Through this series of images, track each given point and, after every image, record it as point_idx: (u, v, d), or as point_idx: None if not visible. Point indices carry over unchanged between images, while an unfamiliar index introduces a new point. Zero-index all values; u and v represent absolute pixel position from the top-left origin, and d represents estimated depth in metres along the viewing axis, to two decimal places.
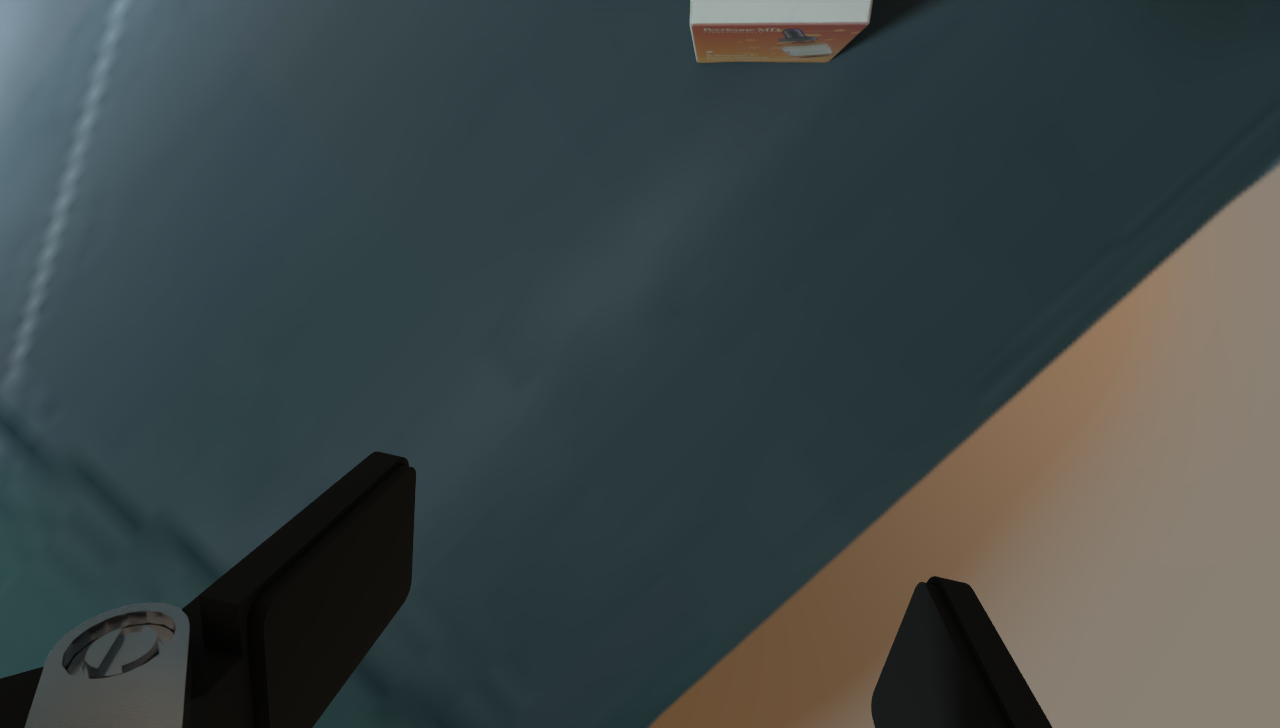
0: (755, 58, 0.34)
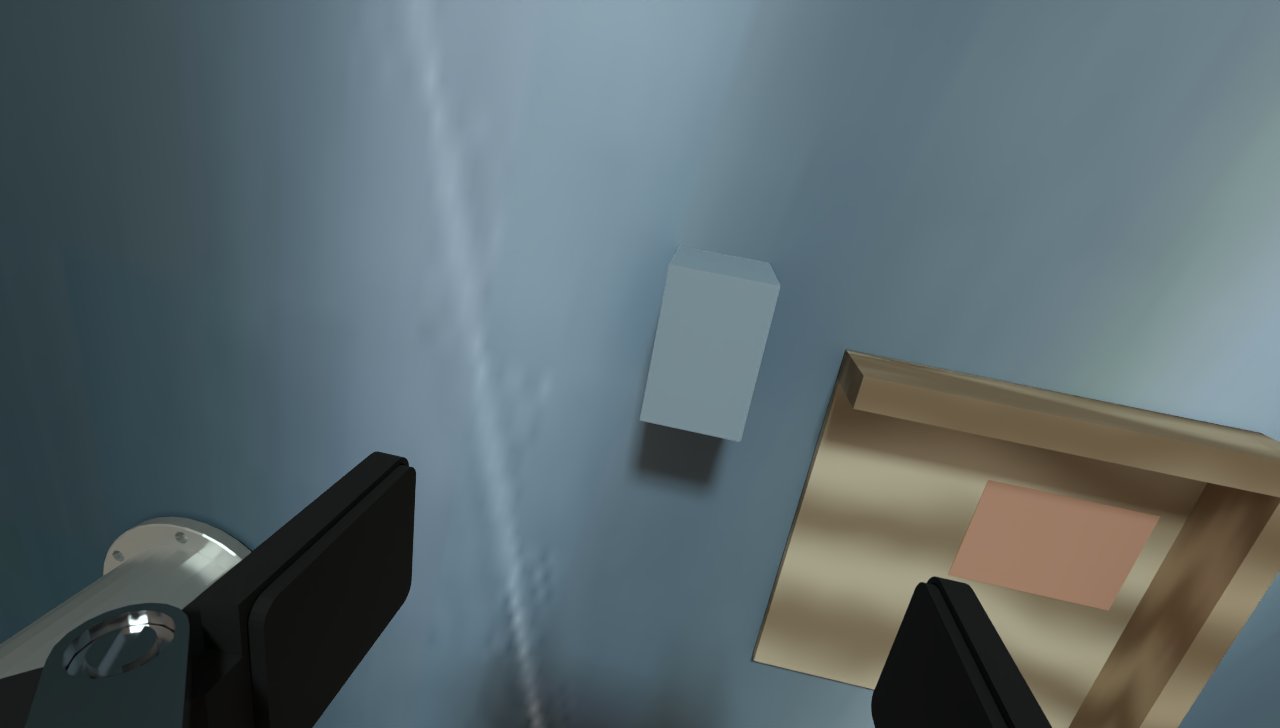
0: None
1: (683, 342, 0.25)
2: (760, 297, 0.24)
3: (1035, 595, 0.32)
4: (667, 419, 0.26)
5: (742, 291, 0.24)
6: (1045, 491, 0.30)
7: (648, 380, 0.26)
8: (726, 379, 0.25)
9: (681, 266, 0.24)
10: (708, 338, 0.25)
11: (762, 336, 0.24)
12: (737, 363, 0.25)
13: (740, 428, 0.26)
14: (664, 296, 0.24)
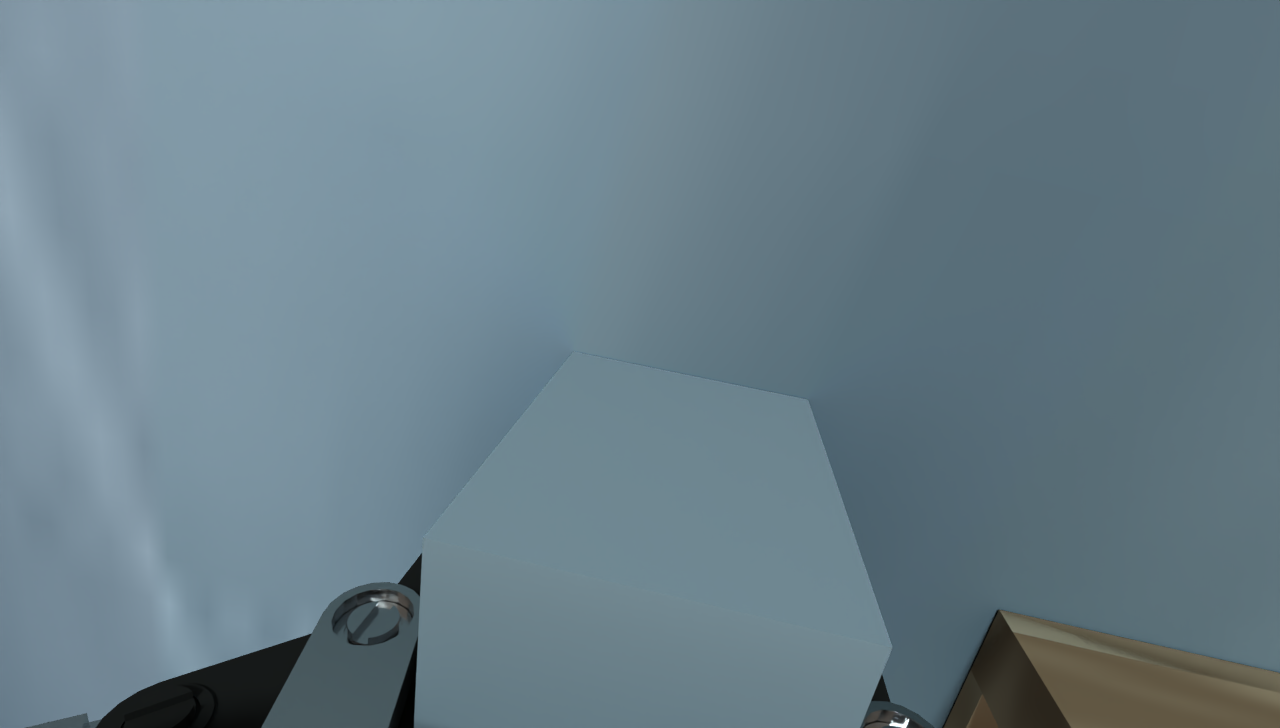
0: None
1: None
2: (803, 679, 0.06)
3: None
4: None
5: (724, 652, 0.06)
6: None
7: None
8: None
9: (475, 543, 0.06)
10: None
11: None
12: None
13: None
14: (423, 643, 0.06)
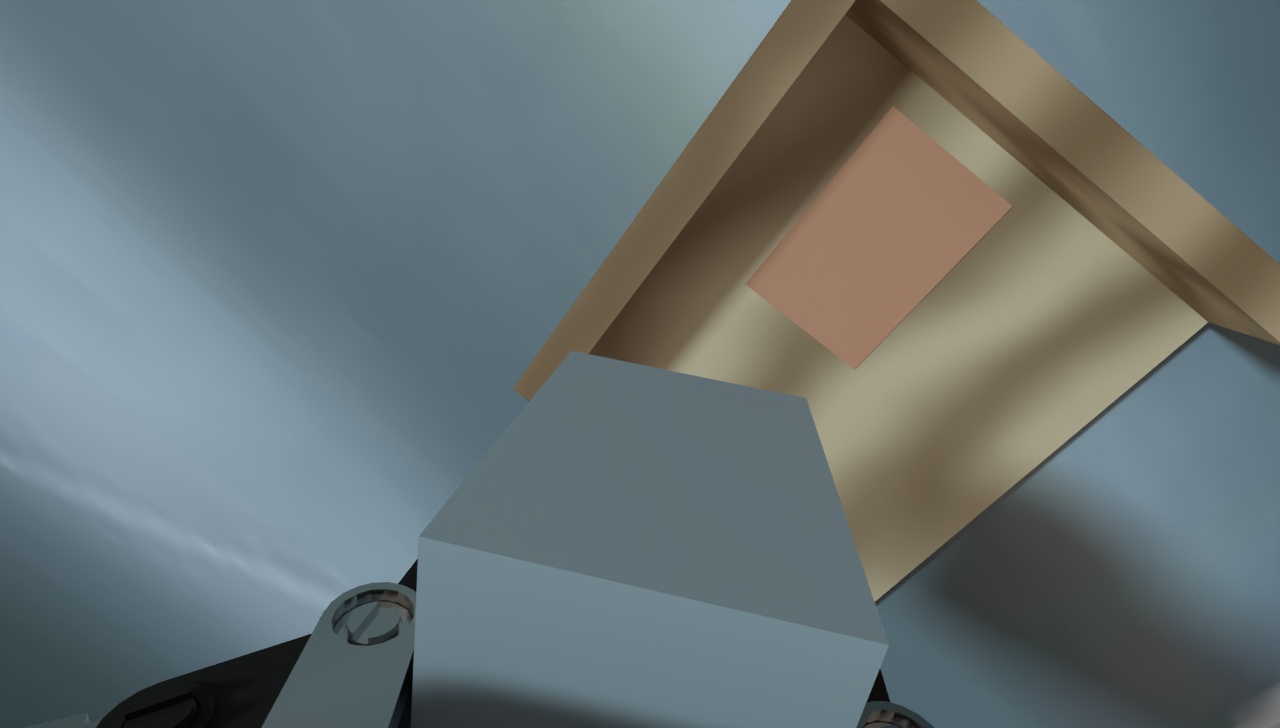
0: None
1: None
2: (799, 677, 0.06)
3: (938, 285, 0.24)
4: None
5: (721, 649, 0.06)
6: (791, 227, 0.24)
7: None
8: None
9: (471, 542, 0.06)
10: None
11: None
12: None
13: None
14: (419, 642, 0.06)
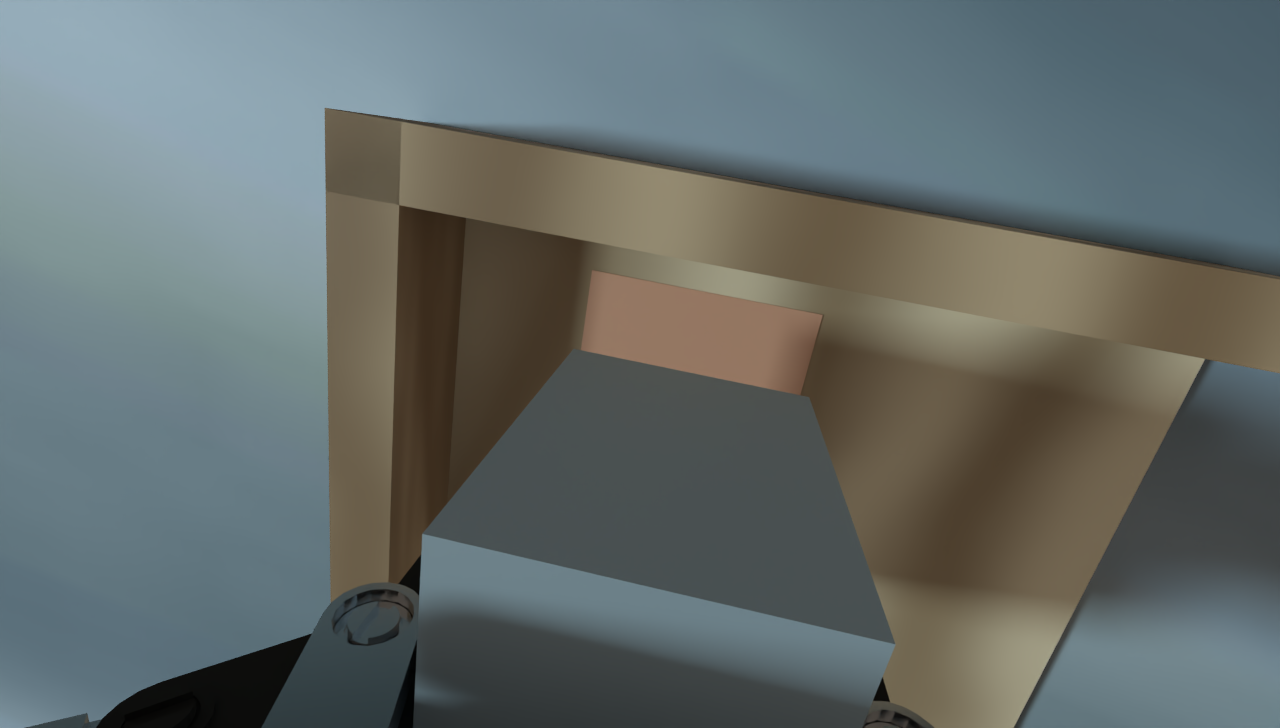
0: None
1: None
2: (805, 677, 0.06)
3: None
4: None
5: (726, 649, 0.06)
6: None
7: None
8: None
9: (475, 539, 0.06)
10: None
11: None
12: None
13: None
14: (422, 640, 0.06)
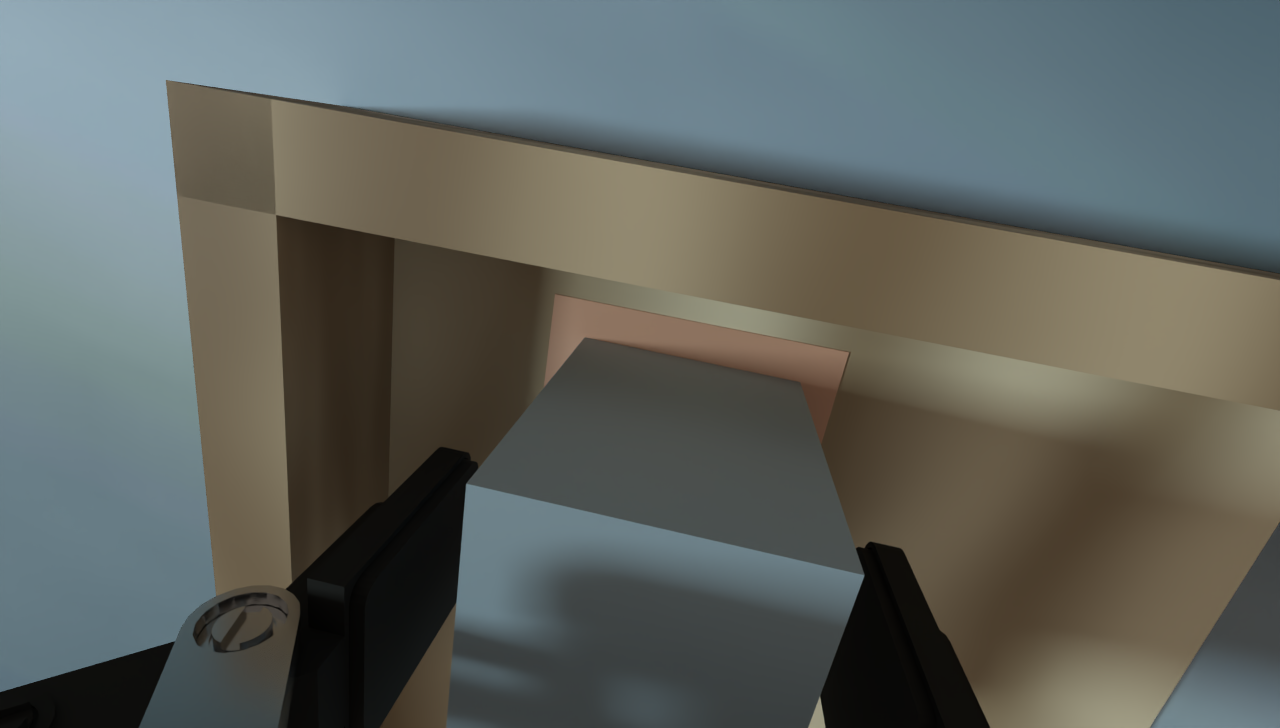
0: None
1: (538, 709, 0.08)
2: (789, 605, 0.07)
3: None
4: None
5: (723, 581, 0.07)
6: None
7: None
8: None
9: (511, 489, 0.07)
10: (613, 704, 0.07)
11: (794, 716, 0.07)
12: None
13: None
14: (463, 578, 0.07)
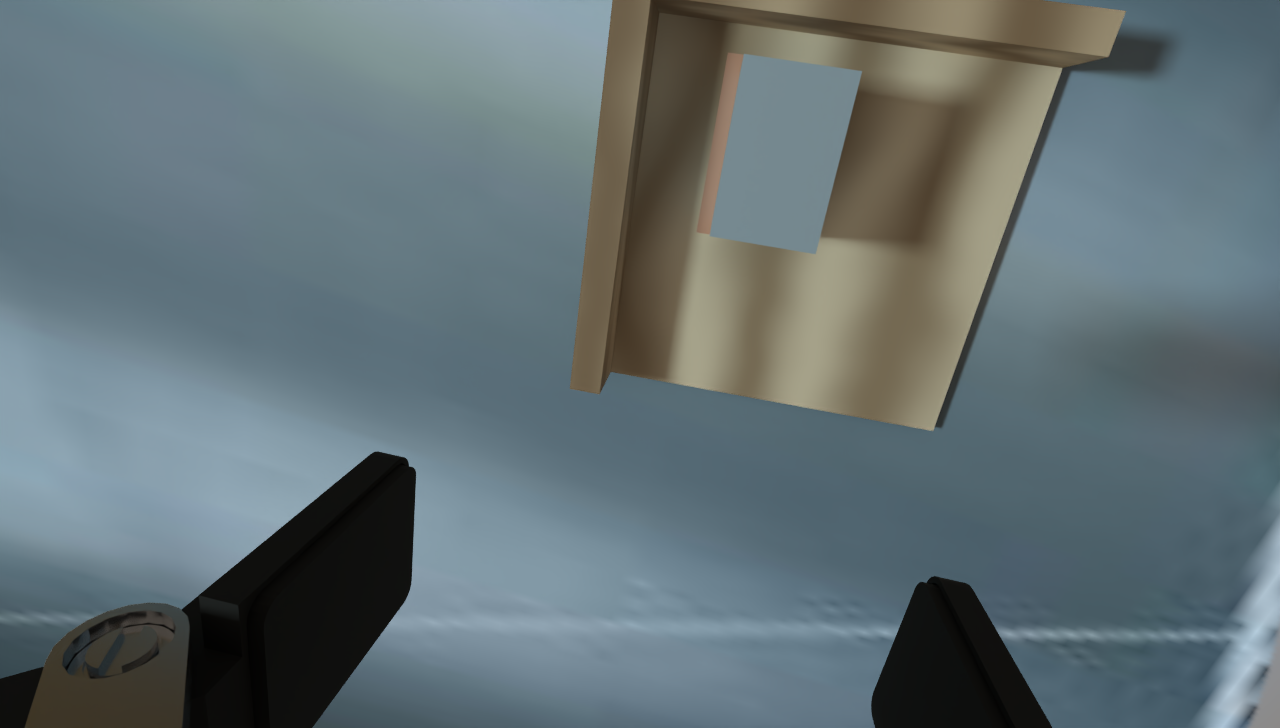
0: None
1: (757, 143, 0.24)
2: (840, 85, 0.23)
3: None
4: (738, 233, 0.25)
5: (820, 79, 0.23)
6: (706, 174, 0.30)
7: (719, 189, 0.25)
8: (802, 183, 0.24)
9: (756, 56, 0.23)
10: (783, 136, 0.24)
11: (841, 131, 0.23)
12: (814, 163, 0.24)
13: (815, 238, 0.25)
14: (738, 91, 0.23)
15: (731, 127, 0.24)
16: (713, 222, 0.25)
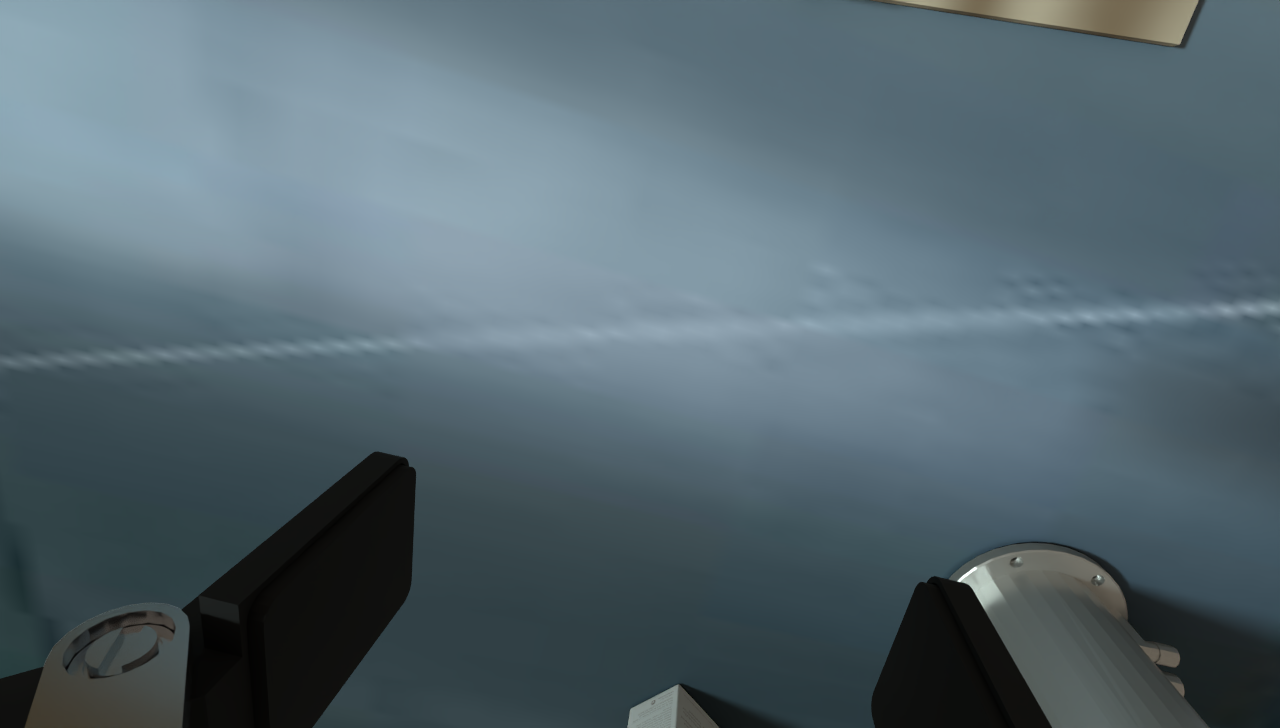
0: None
1: None
2: None
3: None
4: None
5: None
6: None
7: None
8: None
9: None
10: None
11: None
12: None
13: None
14: None
15: None
16: None
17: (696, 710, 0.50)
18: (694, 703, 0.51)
